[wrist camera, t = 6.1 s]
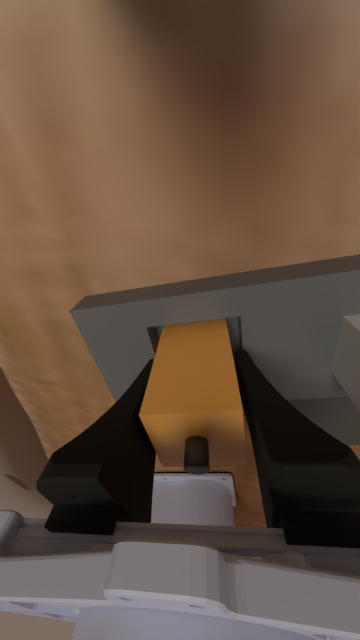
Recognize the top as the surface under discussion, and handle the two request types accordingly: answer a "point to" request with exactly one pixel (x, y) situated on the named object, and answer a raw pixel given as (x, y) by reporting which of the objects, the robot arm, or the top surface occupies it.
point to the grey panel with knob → (242, 325)
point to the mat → (333, 416)
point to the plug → (195, 399)
